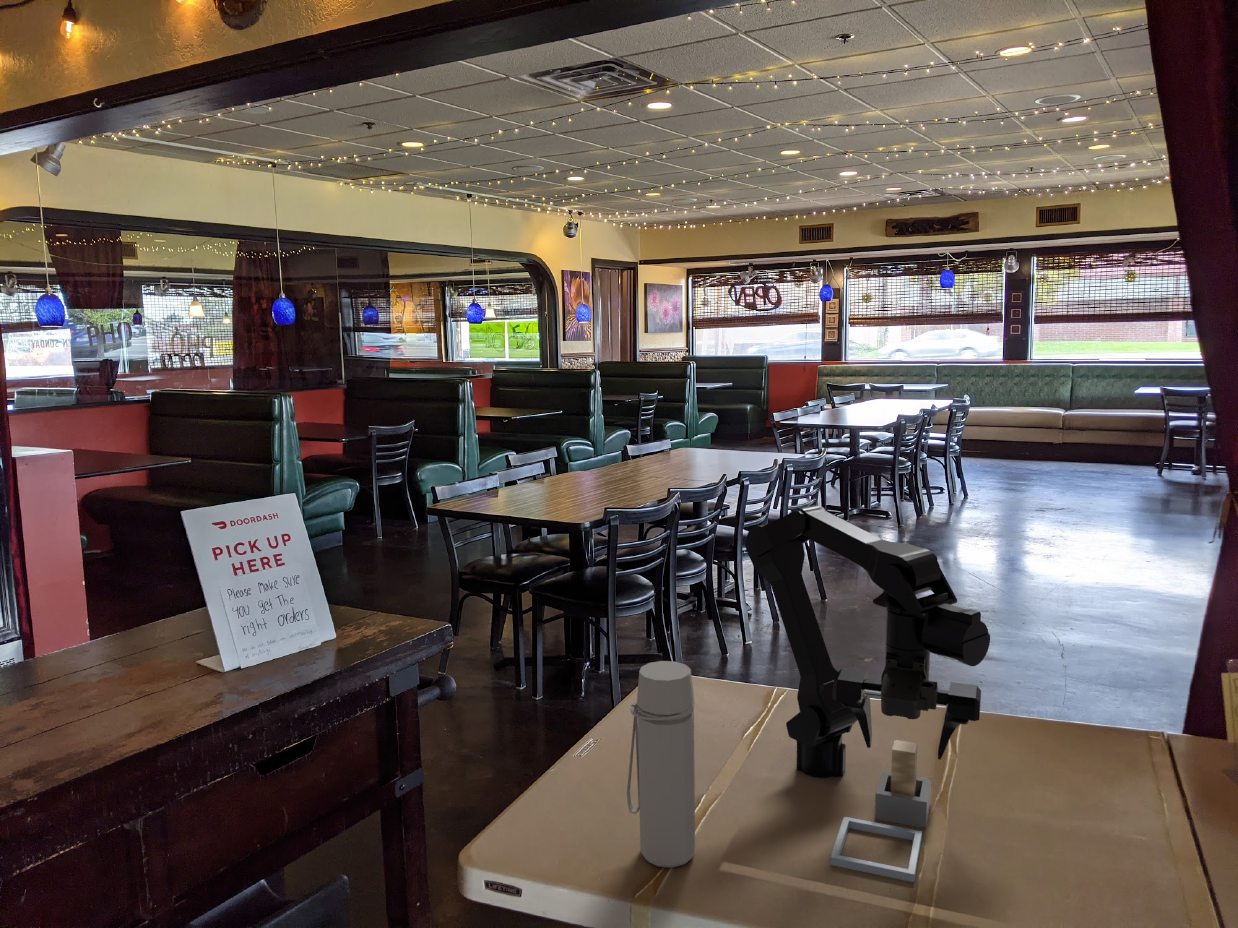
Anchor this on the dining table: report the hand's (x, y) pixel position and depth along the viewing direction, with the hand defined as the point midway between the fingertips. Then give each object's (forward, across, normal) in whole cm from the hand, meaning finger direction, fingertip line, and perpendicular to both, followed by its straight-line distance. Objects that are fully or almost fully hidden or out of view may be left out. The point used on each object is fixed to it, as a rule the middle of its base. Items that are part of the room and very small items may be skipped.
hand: (903, 752), depth 126 cm
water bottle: (+10, -28, -20) cm, 36 cm away
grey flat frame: (+9, -2, -11) cm, 15 cm away
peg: (+9, 0, 0) cm, 9 cm away
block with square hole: (+9, 0, 0) cm, 9 cm away
